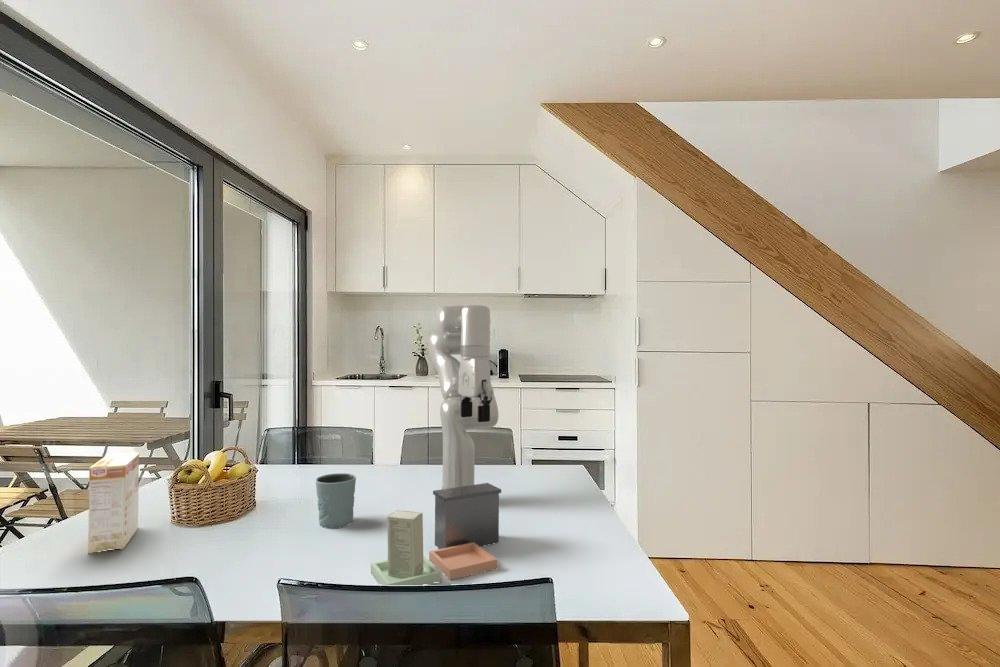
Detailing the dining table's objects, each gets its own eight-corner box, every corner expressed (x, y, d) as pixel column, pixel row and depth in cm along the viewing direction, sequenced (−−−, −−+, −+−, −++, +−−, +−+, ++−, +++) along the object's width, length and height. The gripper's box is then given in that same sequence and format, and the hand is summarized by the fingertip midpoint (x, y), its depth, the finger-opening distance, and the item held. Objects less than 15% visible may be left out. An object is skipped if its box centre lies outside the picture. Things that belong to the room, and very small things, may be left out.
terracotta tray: (429, 560, 115) (429, 551, 115) (473, 550, 121) (473, 542, 121) (449, 580, 106) (450, 570, 106) (497, 568, 111) (497, 559, 111)
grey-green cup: (363, 520, 141) (363, 475, 142) (336, 532, 132) (337, 484, 132) (334, 514, 146) (334, 471, 146) (306, 526, 137) (307, 479, 137)
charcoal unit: (432, 545, 124) (433, 490, 124) (487, 534, 132) (487, 482, 132) (444, 555, 118) (444, 498, 119) (500, 543, 126) (501, 489, 126)
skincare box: (423, 571, 108) (424, 512, 109) (413, 580, 104) (414, 519, 104) (396, 567, 110) (397, 509, 111) (385, 576, 106) (386, 515, 106)
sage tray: (370, 573, 109) (370, 563, 109) (420, 562, 114) (420, 553, 114) (387, 595, 99) (387, 584, 99) (440, 582, 105) (440, 572, 105)
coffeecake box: (105, 532, 131) (107, 454, 132) (139, 528, 134) (140, 451, 134) (85, 554, 117) (87, 467, 118) (123, 549, 120) (125, 464, 121)
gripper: (448, 352, 141) (447, 416, 141) (477, 353, 126) (477, 424, 126) (473, 352, 145) (472, 414, 145) (504, 353, 130) (504, 422, 130)
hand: (474, 419), depth 135 cm, fingers open, 9 cm apart
